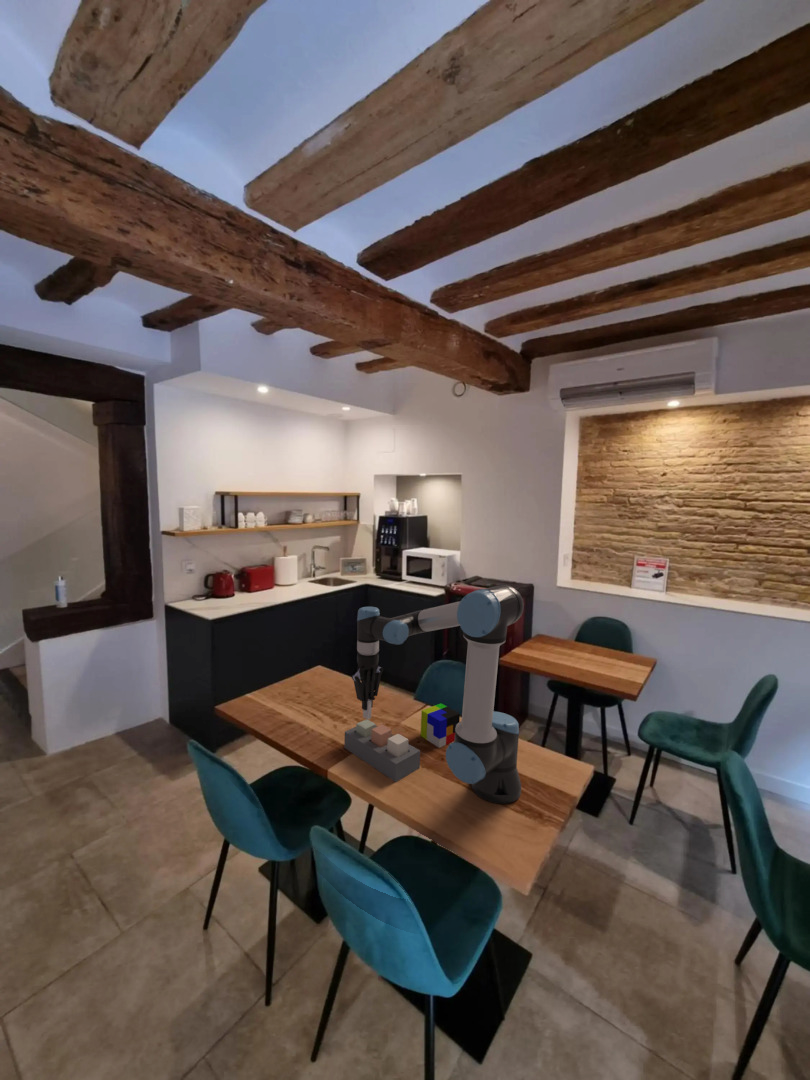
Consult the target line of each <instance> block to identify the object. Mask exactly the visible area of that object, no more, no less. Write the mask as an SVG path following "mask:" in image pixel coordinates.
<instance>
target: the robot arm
mask: <svg viewBox="0 0 810 1080" xmlns="http://www.w3.org/2000/svg"><path fill="white" fill-rule="evenodd" d="M524 607H525V603H524V599H523V597H522V595H521V593H520V592H519V591H518V590H517V589H516V588H514V587H513V586H510V585H506V584H500V585H499V584H498V585H494V586H490V587H485V588H482V589H481V588H478V589H476V590H473V591H471V592H469V593H467V594H466V595H465V596H463V598H462V599H461V600H459V601H455V602H451V603H448V604H442V605H438V606H435V607H429V608H424V609H423V610H422V609H421V610H416V611H413V612H412V611H411V612H408V613H406V614H401V615H398V616H394V617H385V616H382V615H380V614H381V613H380V609H379V608H378V607H375V606H363V607H360V608H359V609H358V611H357V619H356V623H357V625H356V627H357V631H356V632H357V633H356V634H357V636H356V639H357V640H356V641H357V642H356V650H357V653H356V663H357V669H356V672H355V674H352V675H351V676H350V677H351V680H352V681H353V684H354V689H355V690H354V691H355V695H356V699H357V700H358V701H360V702H361V709H362V718H364V719H365V720H366V719H367V720H370V719H372V708H373V705H374V704H373V703H374V700H376V697H377V696H378V693H379V688H380V684H381V678H382V674H383V672H384V668H383V667H381V666H379V660H380V653H379V651H380V641H383V642H386V643H389V644H391V645H397V646H398V645H403V644H404V642H406V640H407V639H408V637H410V636H413V635H417V634H422V633H423V634H424V633H427V632H432V631H438V630H444V629H450V628H454V627H455V628H456V627H459V626H460V629H461V630H462V632H463V633H462V636H463V638H464V639H465V640H466V641H467V651H466V665H465V676H464V688H463V699H462V710H461V721H459V723H458V724H457V725H456V728H455V739H454V741H453V742H451V743H449V744H448V746H447V748H446V750H445V760H446V764H447V766H448V768H449V769H450V770H451V773H452V774H453V775H454V776H455V778H457V779H458V780H459V781H461V782H463V783H465V784H467V785H471V789H472V790H473V792H474V793H475V794H476V795H477V796H478V797H479V798H481V799H482V800H484V801H487V802H490V803H492V804H500V805H501V804H502V805H504V804H505V805H506V804H511V803H514V802H516V801H517V800H519V798H520V797H521V794H522V782H521V778H520V775H519V771H518V767H517V765H518V751H519V736H520V735H519V734H520V730H519V726H520V724H519V722H518V720H517V719H516V718H515V717H514V716H512V715H510V714H507V713H504V712H500V711H495V710H494V709H495V708H494V707H495V698H496V688H497V687H496V686H497V677H498V676H497V675H498V666H499V658H500V657H499V656H500V646H502V645H503V644H505V643H506V640H507V632H508V626H511V625H513V624H515V623H516V622H517V621H519V619H520V618H521V617H522V615H523V612H524Z"/></svg>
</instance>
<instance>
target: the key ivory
mask: <svg viewBox="0 0 810 1080" xmlns="http://www.w3.org/2000/svg"><path fill="white" fill-rule="evenodd" d="M408 744H409V739H408V738H407V737H405V736H403V735H401V734H400V733H396V734H395V735H394V736H392V737H390V738H388V745H387V752H388V753H390V754H392V755H393V756H395V757H397V758H399V757H401V756H402V755H404V754H406V753H408Z"/></svg>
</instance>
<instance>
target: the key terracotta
mask: <svg viewBox="0 0 810 1080" xmlns="http://www.w3.org/2000/svg"><path fill="white" fill-rule="evenodd" d="M392 733H393V732H392V729H390V728H389V727H387V726H386V725H383V724H380V725H378V727H376V728H373V729H372V731H371V742H372V743H374V744H375V745H377V746H379V747H380V748H381V747H383V746H385V745H387V744H388V738H390V737H391V734H392Z"/></svg>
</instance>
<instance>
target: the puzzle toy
mask: <svg viewBox="0 0 810 1080" xmlns="http://www.w3.org/2000/svg"><path fill="white" fill-rule="evenodd" d="M460 716H461V714H460V712H458V711H456V710H454V709H452V708H451V707H449V706H447V705H445V704H443V703H442V702H441V703H439V704H436V705H433V706H430V707H426V708H424V709H421V717H420V719H421V720H420V737H422V738H423V739H425V740H426V741H428V742H430V743H431V744H433V745H434V746H435V747H437V748H442V747H444V746H447V745H450V744H451V743H453V742H454V739H455V728H456V725H457V724H458V723H459V722H461V721H460V720H461V719H460Z"/></svg>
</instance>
